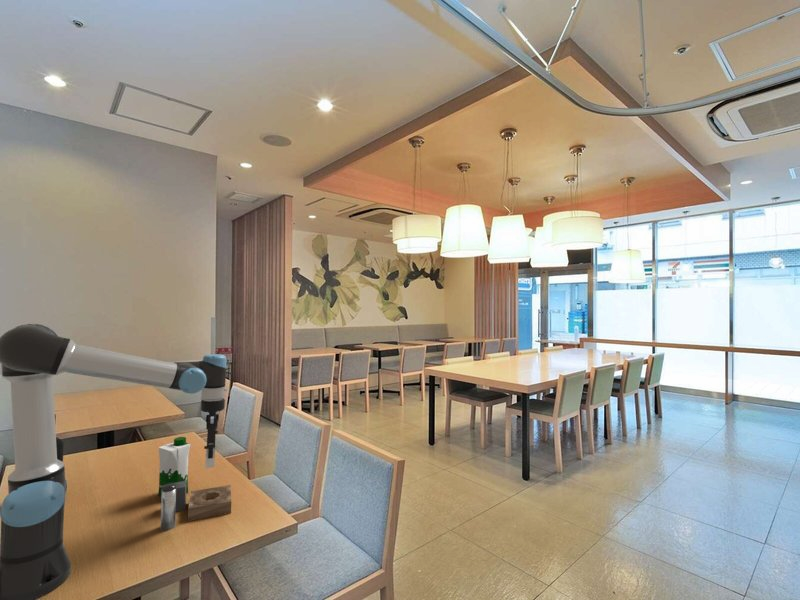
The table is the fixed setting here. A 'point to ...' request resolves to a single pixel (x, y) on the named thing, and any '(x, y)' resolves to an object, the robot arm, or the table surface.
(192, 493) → the socket block
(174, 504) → the rod
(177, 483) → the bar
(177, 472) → the milk carton
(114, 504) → the table surface
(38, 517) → the robot arm
